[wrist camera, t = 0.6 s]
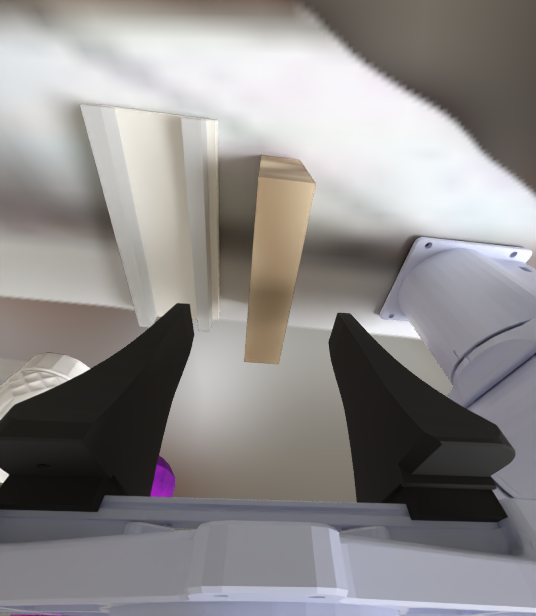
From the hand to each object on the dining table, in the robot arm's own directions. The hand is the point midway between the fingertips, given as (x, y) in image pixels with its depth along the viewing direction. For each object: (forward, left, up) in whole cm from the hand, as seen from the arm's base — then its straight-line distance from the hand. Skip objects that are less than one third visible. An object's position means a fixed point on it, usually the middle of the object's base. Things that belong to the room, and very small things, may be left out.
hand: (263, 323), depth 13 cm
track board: (+7, 0, -9) cm, 12 cm away
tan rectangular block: (0, 0, -10) cm, 10 cm away
